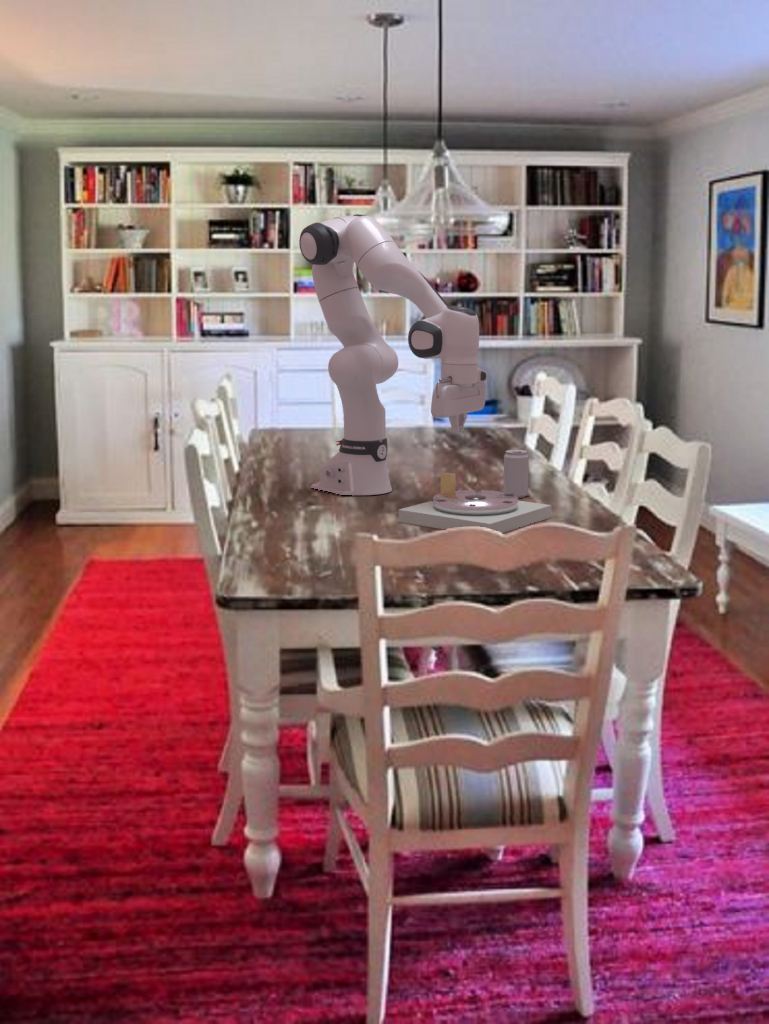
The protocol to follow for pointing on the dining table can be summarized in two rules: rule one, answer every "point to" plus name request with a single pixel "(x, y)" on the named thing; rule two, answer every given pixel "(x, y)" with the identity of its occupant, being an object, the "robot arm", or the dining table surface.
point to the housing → (475, 517)
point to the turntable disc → (472, 499)
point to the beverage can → (516, 472)
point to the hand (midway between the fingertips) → (457, 432)
